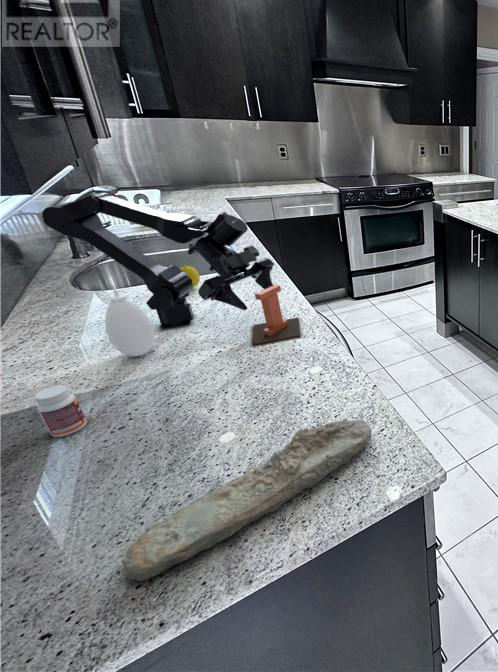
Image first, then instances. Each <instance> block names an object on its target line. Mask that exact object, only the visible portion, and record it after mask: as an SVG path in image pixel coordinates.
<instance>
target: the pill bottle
mask: <svg viewBox="0 0 498 672" xmlns="http://www.w3.org/2000/svg"><path fill="white" fill-rule="evenodd" d="M34 400H35V401H36V403H37V406H36V410H37V413H38V414H39V416H40V417H41V419H42V421H43V423H44V425H45V427H46V429H47V430H48V431H49V434H50V435H51V436H52V437H55V438H61V437H66V436H69V435H72V434H74V433H76V432H78V431H80V430H82V429H83V428H84V427H85V426H86V424H87V423H88V420H87V418H86V416H85V414H84V412H83V409H82V408H81V405H80V404H79V402H78V399H77V397H76V395H75V394H73V393H71V391H70V390H69V388H68V386H67V385H64V384H57V385H53V386H50V387H47V388H44V389H42V390H40V391H38V392H37V393H36V394H35V395H34Z"/></svg>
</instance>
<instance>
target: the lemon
mask: <svg viewBox="0 0 498 672" xmlns="http://www.w3.org/2000/svg"><path fill="white" fill-rule="evenodd" d="M179 269H180V270H181V271H183V272H185V273H188V275H187V276H188V277H190V278H191V280H192V284H193V288H192V289H191V290H193V289H194V288H195V287H197V286H198V284H199V283H200V281H201V279H200V278H201V277H200V274H199V272H198V270H196V268H195V267H193V266H189V265H183V266H181V268H179Z"/></svg>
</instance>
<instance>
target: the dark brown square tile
mask: <svg viewBox="0 0 498 672" xmlns="http://www.w3.org/2000/svg"><path fill="white" fill-rule="evenodd" d="M286 320H287V322H288V326H286V327H284V328H282V329H281V330H279V331H277V332H276V333H274V334H272V335H270V336H267V335H264V332H263V330H264V329H266V328H268V327H267V325H266V322H264V323H258V324H253V329H252V342H251V345H252V346H253V347H254V346H259V345H266V344H270V343H275V342H280V341H286V340H290V339H291V340H292V339H297V338H301V337H302V336H301V329H300V320H299V317H294V318H293V317H292V318H288V319H286Z"/></svg>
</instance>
